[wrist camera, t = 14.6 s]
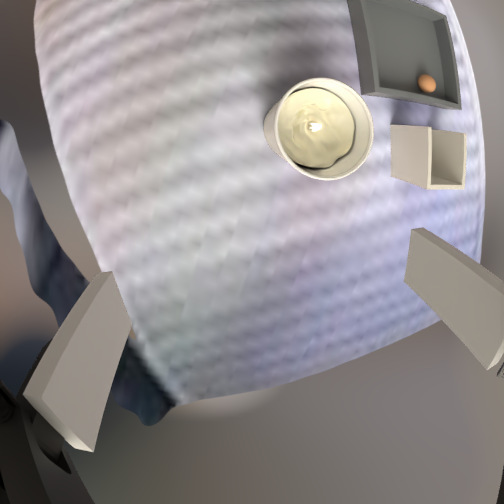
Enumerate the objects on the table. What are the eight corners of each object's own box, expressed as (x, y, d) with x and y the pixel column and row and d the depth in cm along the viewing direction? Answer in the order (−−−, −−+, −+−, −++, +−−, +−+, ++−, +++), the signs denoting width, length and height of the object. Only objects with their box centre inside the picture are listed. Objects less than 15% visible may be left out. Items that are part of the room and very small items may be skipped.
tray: (345, -7, 25) (356, -16, 21) (432, 20, 26) (446, 15, 22) (361, 94, 32) (375, 92, 28) (446, 109, 33) (461, 109, 29)
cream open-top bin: (389, 124, 34) (428, 126, 26) (427, 129, 34) (466, 133, 26) (390, 176, 37) (427, 189, 29) (427, 176, 38) (464, 189, 30)
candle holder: (342, 137, 34) (390, 142, 23) (289, 180, 36) (319, 201, 25) (299, 80, 31) (333, 59, 20) (241, 123, 32) (251, 118, 22)
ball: (412, 83, 30) (417, 87, 32) (428, 94, 29) (432, 98, 31) (420, 68, 28) (425, 73, 30) (437, 79, 27) (440, 84, 28)
